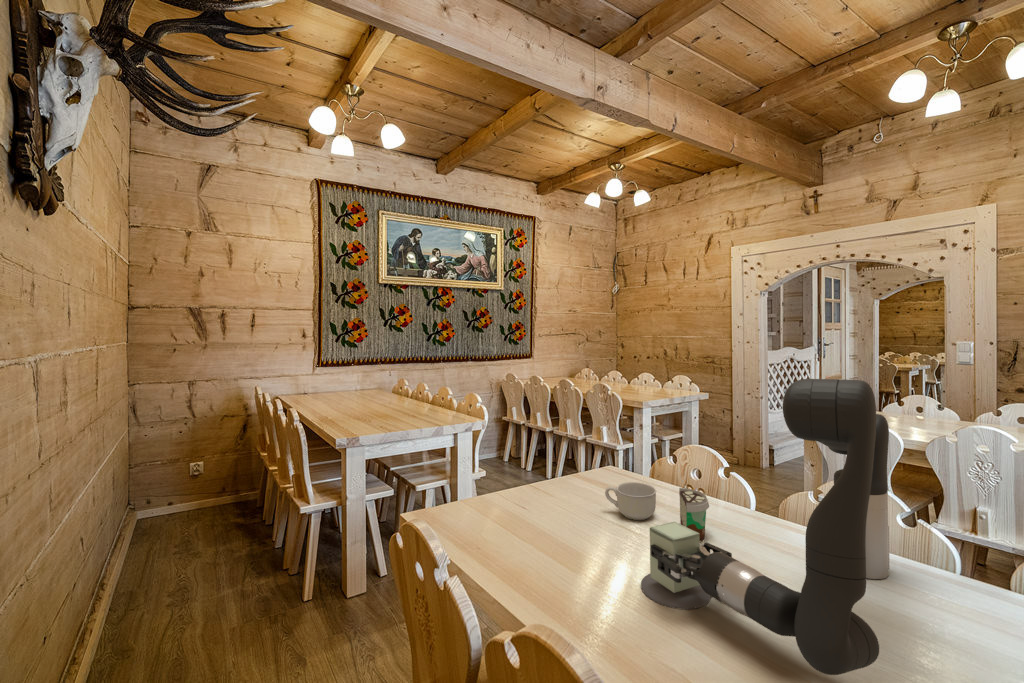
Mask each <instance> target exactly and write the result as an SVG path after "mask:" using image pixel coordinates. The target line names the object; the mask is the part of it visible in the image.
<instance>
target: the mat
mask: <svg viewBox="0 0 1024 683" xmlns="http://www.w3.org/2000/svg"><path fill="white" fill-rule="evenodd" d="M640 588H641V591H642V592H643V594H644V595H645V596H646V597H647V598H648V599H650V600H651V601H653V602H655V603H657V604H659V605H660V606H661V605H662V606H665V607H667V608H673V609H679V610H694V609H699V608H702V607H704V606H706V605H707V604H708V603H709V602H710V600H711V597H712V596H710V595H709V594H707V593H706V592H705V591H704V590H703V589H702V587H701V586H700V585H698V586H695V587H692V588H688V589H685V590H682V591H680V592H675V593H674V592H672V591H671V590H669V589H668V588H666V587H665V586H663V585H662V584H660V583H659V582H657V581H656V580H654V579H653V578H651V577H650V573H647V575H645V576H643V577H642V579H641V582H640Z"/></svg>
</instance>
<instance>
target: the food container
mask: <svg viewBox="0 0 1024 683" xmlns="http://www.w3.org/2000/svg"><path fill="white" fill-rule="evenodd" d="M678 491H679V492H678V495H679V519H680V522H679V524H681V525H683V526H685V527H687V528H689V529H691V530H693V531H695V532H698V533H699V534H700V542H703V540H704V539H705V538H706V537H705V534H706V521H707V510H708V509H709V508H710V504H709V499H708V498H707V495H706V494H704V493H703V492H701V491H698V490H695V489H691V488H682V487H679V490H678Z"/></svg>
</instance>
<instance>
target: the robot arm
mask: <svg viewBox="0 0 1024 683" xmlns="http://www.w3.org/2000/svg"><path fill="white" fill-rule="evenodd" d="M782 415H783V418H784V422H785V424H786V426H787V428H788V431H789V432H791V434H792V435H793V436H794V437H796V438H798V439H800V440H804V441H810V442H818V443H821V444H822V445H824V446H826V447H828V449H829V450H830V451H831V452H833V453H835V454H839V455H844V456H846V457H845V458H846V459H845V462H844V465H843V468H840V469H838V470H836V471H835V472H834V474H833V485H832V486H831V488H830V489H829V491H828V492H827V493H826V494H825V495H824V496H823V498H822V499H821V500H820V502H819V503H818V504H817V506H816V507H815V508H814V509H813V511H812V513H811V515H810V517H809V518H808V522H807V524H806V529H805V577H804V582H803V585H802V587H801V591H796V590H794V589H791V588H789V587H788V586H786V585H785V584H782V583H781V582H778V581H777V580H774V579H773V578H770V577H768V576H766V575H764V574H763V573H761V572H760V571H759V570H757V569H755V568H754V567H751V566H750V565H748V564H746V563H744V562H741V561H739V560H738V559H737V558H735V557H733V554H732V552H730V551H728V550H725V549H724V548H721V547H718V546H716V545H713V544H711V543H709V542H704V543H703V544H700V547H697V552H696V553H693V554H691V555H688V554H684V553H680V552H677V553H676V554H674V555H673V554H671V553H670V552H666V551H665V550H664V549H662V548H660V547H658V546H657V545H655V544H653V545H651V556H652V557H654V558H656V559H657V560H658V570H660V571H661V572H662V573H664V574H665V575H667V576H668V577H669V578H671V579H672V580H673V581H675V582H677V583H681V578H683V577H688V578H690V579H694V580H696V581H698V583H699V584H700V586H701V587H702V589H703V590H704V591H705V592H706V593H707V594H709V595H710V596H711V597H712V598H713V599H715V600H717V602H718V601H719V602H720V603H722V604H723V605H725V606H727V607H728V608H730V609H732V610H733V611H734V612H736V613H738V614H740V615H741V616H744V617H747V618H748V619H751V620H752V621H754V622H756V623H757V624H759V625H761V627H764V628H765V629H767V630H768V631H771V632H772V633H774V634H776V635H779V636H784V637H795V641H796V644H797V647H798V649H799V651H800V654H801V655H802V657H803V658H804V660H805V661H806V662H807V663H808V664H809V665H810V667H812V668H813V669H815V671H817V672H820V673H821V674H824V675H829V676H838V675H842V674H845V673H850V672H852V671H856V670H860V669H863V668H864V669H865V668H866V667H869V666H870V665H872V664H873V663H875V661H876V660H877V659H878V657H879V654H880V643H879V642H880V641H879V640H878V637H877V635H876V634H875V632H874V630H873V629H872V628H871V626H870V625H869V624H868V623H867V622H866V621H865V620H864V619H863V618H862V617H860V616H859V615H858V614H856V612H853V611H852V610H853V607H854V606H855V604H856V603H858V602H859V601H860V600H861V599H863V598H864V596H865V594H866V590H867V579H869V580H882V579H883V580H884V579H886V578H888V577H889V574H890V573H889V570H890V526H889V498H888V497H889V495H888V493H889V492H888V490H889V489H888V488H889V487H888V457H889V442H890V440H889V438H890V431H889V429H890V428H889V422H888V420H887V419H886V417H885V415H882V414H879V413H877V406H876V397H875V393H874V390H873V388H872V387H871V385H870V384H869V383H868V382H866V381H864V380H860V379H841V378H840V379H835V378H832V379H831V378H802V379H799V380H795V381H793V382H791V384H790V385H789V386H788V387H787V388H786V391H785V392H784V395H783V400H782ZM711 551H712V553H711ZM669 558H673V559H674V562H672V561H671V560H669ZM680 558H682V559H683V568H684V569H683V568H681V566H680Z"/></svg>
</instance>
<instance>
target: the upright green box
mask: <svg viewBox="0 0 1024 683" xmlns="http://www.w3.org/2000/svg"><path fill="white" fill-rule="evenodd" d="M700 542H701V541H700V534H699V533H698V532H695V531H693V530H691V529H689V528H687V527H685V526H683V525H681V524H680V522H679V523H678V522H676V521H672V522H667V523H663V524H659V525H654V526H651V527H650V526H649V565H650V566H649V570H650V571H649V572H650V573H649V574H650V577H651V578H653V579H654V580H656V581H657V582H659V583H660V584H662V585H663V586H665V587H666V588H668V589H669V590H671V591H672V592H674V593H675V592H679V591H682V590H685V589H688V588H692V587H695V586H698V585H700V584H699V583H698V581H696V580H694V579H690V578H688V577H683V578H681V583H677V582H675V581H673V580H672V579H671V578H669V577H668V576H667V575H665V574H664V573H662V572H661V571H660V570H658V560H657V559H656V558H654V557H652V556H651V545H653V544H655V545H657V546H658V547H660V548H662V549H664V550H665V551H666V552H670V553H671V554H673V555H674V554H676V553H677V552H680V553H684V554H688V555H691V554H693V553H696V552H697V547H700ZM669 560H671V561H672V562H674V559H673V558H669ZM680 566H681V568H683V559H682V558H680ZM683 569H684V568H683Z"/></svg>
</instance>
